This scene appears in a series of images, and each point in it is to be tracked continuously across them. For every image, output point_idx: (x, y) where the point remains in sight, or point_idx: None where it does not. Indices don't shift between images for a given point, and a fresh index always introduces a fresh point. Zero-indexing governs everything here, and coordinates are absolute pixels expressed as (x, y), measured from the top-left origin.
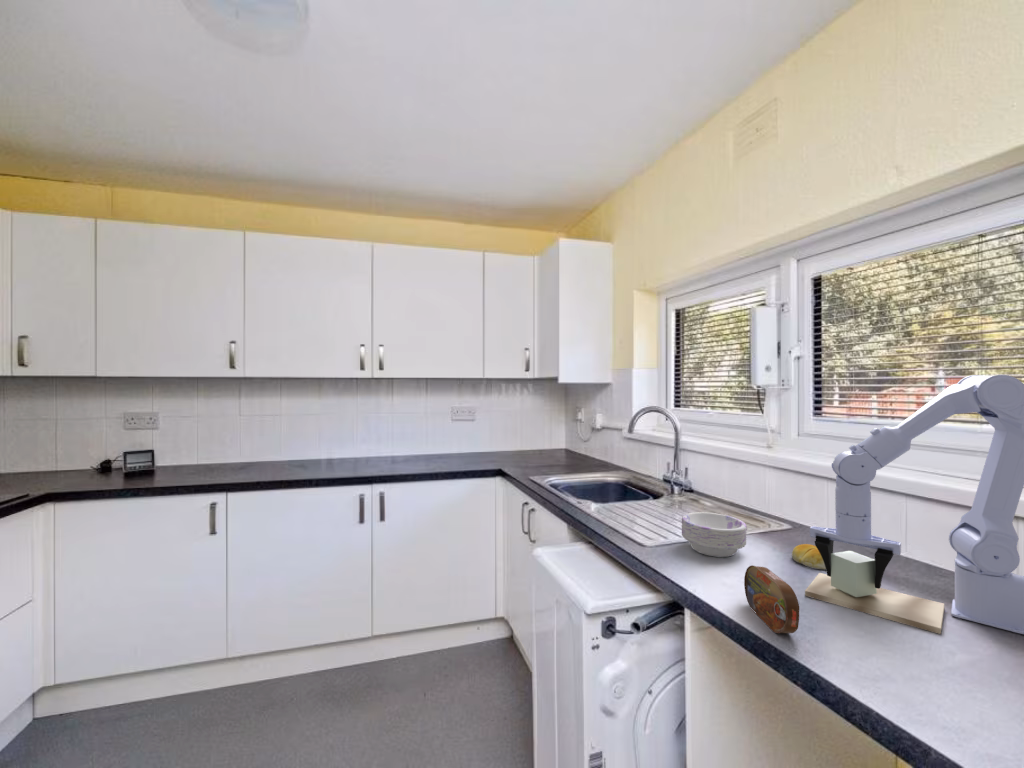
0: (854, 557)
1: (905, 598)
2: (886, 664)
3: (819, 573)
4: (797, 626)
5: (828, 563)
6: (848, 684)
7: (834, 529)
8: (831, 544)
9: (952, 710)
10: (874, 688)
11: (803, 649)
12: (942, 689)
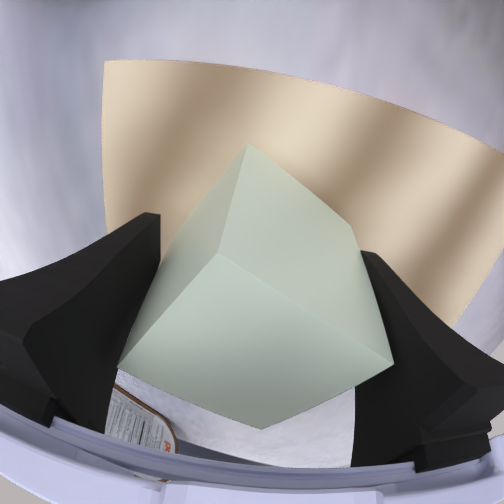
0: (255, 380)
1: (450, 185)
2: (294, 431)
3: (106, 72)
4: (177, 448)
5: (129, 323)
6: (247, 454)
7: (18, 476)
8: (77, 370)
9: (339, 451)
10: (272, 453)
11: (193, 433)
12: (345, 438)
